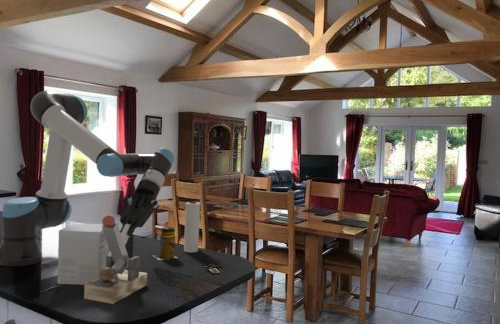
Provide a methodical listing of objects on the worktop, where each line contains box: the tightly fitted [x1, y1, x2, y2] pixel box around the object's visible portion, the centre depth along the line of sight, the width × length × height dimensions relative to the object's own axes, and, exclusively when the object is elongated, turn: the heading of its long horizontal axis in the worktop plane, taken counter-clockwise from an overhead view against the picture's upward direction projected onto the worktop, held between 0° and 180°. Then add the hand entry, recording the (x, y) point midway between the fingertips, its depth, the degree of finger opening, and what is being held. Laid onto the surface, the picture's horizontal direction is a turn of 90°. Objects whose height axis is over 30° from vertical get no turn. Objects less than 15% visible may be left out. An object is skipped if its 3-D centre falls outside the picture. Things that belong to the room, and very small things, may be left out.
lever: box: [101, 215, 130, 274], centre depth 130 cm, size 5×6×19 cm
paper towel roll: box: [183, 201, 201, 254], centre depth 185 cm, size 7×6×21 cm
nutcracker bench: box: [83, 253, 148, 305], centre depth 132 cm, size 18×10×10 cm, turn 162°
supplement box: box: [57, 222, 111, 286], centre depth 143 cm, size 13×13×18 cm
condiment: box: [151, 226, 178, 261], centre depth 174 cm, size 7×8×12 cm
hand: (120, 243), depth 133 cm, fingers closed
